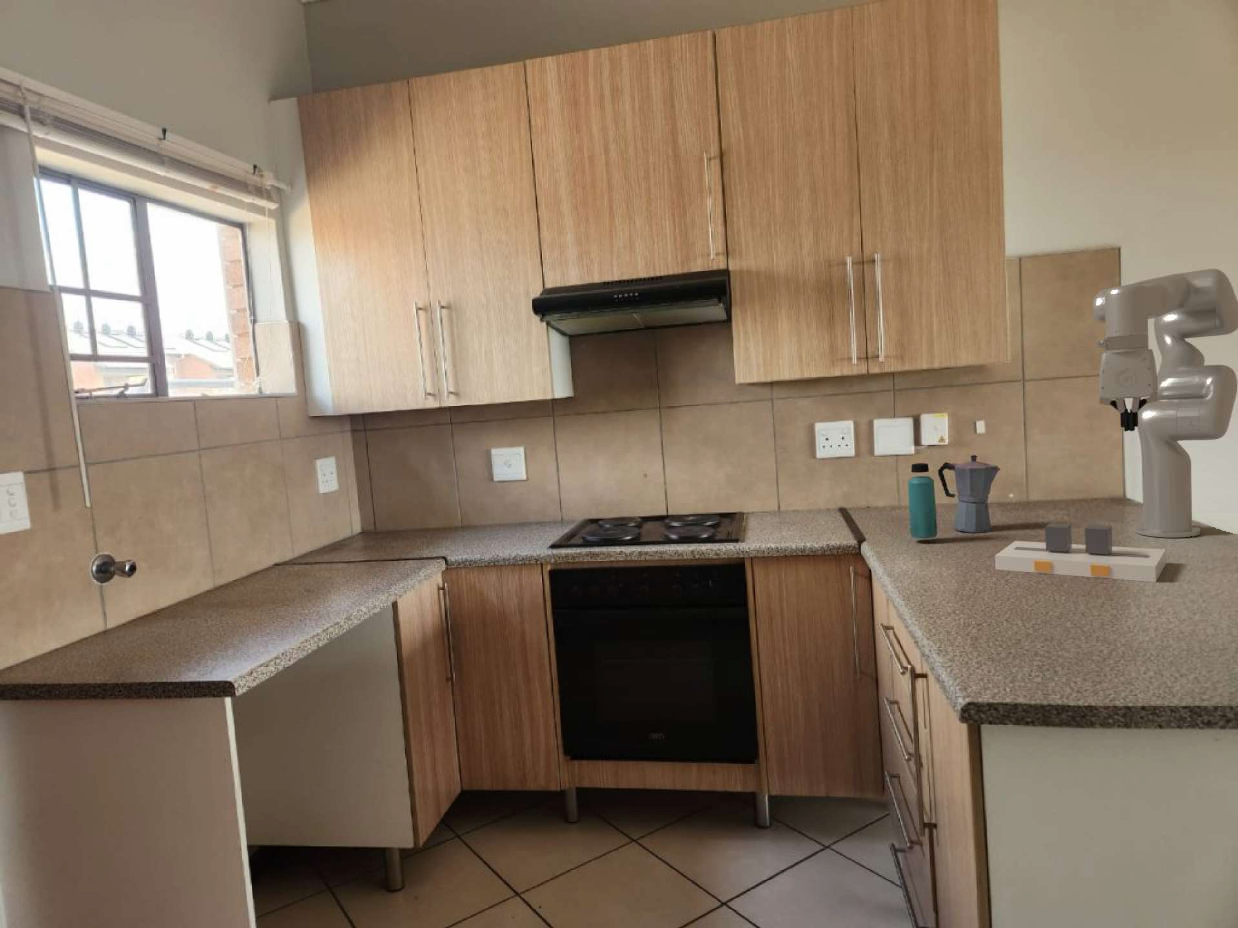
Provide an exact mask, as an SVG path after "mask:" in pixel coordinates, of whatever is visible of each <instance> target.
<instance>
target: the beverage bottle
mask: <svg viewBox="0 0 1238 928" xmlns="http://www.w3.org/2000/svg"><path fill="white" fill-rule="evenodd" d="M910 472H911V473H913V474H915V473H917V474H919V473H929V472H930V468H929V463H925V462H919V463H912V464H911V471H910ZM907 489H908V515H909V533H910V536H911V537H912V538H915V539H933V538H937V536H938V531H939V530H938V523H937V513H938V512H937V505H936V495H935V493H936V492H935V480H934V479H933V478H932V477H931V476H929V475H916V476H912V477H910V478H909V480H907Z"/></svg>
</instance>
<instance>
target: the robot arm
mask: <svg viewBox="0 0 1238 928" xmlns="http://www.w3.org/2000/svg"><path fill="white" fill-rule="evenodd" d="M1091 305H1092V306H1091V308H1092V309H1091V310H1092V314H1093V316H1094V318H1095V319H1096V320H1097V321H1098V322H1099V323H1101V324H1105V339H1104V340H1102V341H1098V343H1097V347H1098V348H1099V349H1100V348H1101V349H1105V352H1103V353H1101V356H1100V362H1099V363H1100V364H1099V376H1098V377H1099V381H1098V383H1099V384H1098V390H1099V392H1098V393H1099V396H1100V397H1099V399H1098V400H1099V401H1098V403H1099V404H1100V405H1103V406H1104V405H1105V406H1111V407H1112V408H1114V409H1115V410H1116V411H1117V412H1119V416H1120V421H1119V422H1120V428H1123V432H1129V431H1130V432H1134V431H1135V430H1136V428H1137V432H1138V436H1139V442H1140V451H1141V452H1140V453H1141V473H1142V475H1141V476H1142V477H1141V480H1142V481H1141V483H1142V484H1141V485H1142V524H1139V525H1138V526H1136V527H1135V533H1137V534H1138V535H1143V536H1146V537H1155V538H1170V539H1171V538H1173V539H1174V538H1191V536H1192V537H1195V536H1196V537H1197V536H1200V534H1201V528H1200V527H1198V526H1194V525H1193V511H1192V510H1193V504H1192V503H1193V502H1192V499H1193V498H1192V497H1193V496H1192V490H1193V489H1192V458H1191V457H1190V454H1189V453H1188V452H1187V451H1186V449H1185V448H1184V447H1183V446H1182V445H1181V443H1180V442H1179V441H1181V442H1182V441H1214V440H1218V439H1221V438H1222V437H1224V436H1225V435H1226V433H1227V431H1228V429H1229V426H1230V422H1231V417H1232V413H1233V410H1234V405H1235V402H1236V398H1237V393H1238V378H1237V375H1236V372H1235V370H1234V369H1233V368H1231V367H1230V366H1228V365H1225V364H1207V365H1206V364H1205V361H1206V360H1205V355H1204V354H1203V352H1201V350H1200V349H1198V348H1197V346H1195V345H1194V344H1192V343H1191V342H1189V341H1187V340H1186V339H1195V338H1205V337H1216V336H1218V337H1219V336H1226V335H1230V334H1232V333H1233V334H1234V332H1237V330H1238V299H1237V296H1236V293H1235V291H1234V288H1233V286H1232V283H1231V281H1230V279H1229V278H1228V276H1227V275H1226V273H1225V272H1223V271H1222V270H1221V269H1218V268H1207V269H1202V270H1194V271H1187V272H1181V273H1173V274H1169V275H1164V276H1160V277H1156V278H1155V277H1154V278H1149V279H1145V280H1141V281H1137V282H1133V283H1130V284H1129V283H1128V284H1125V285H1120V286H1119V285H1118V286H1113V287H1110V288H1109V287H1108V288H1105V289H1101V290H1099V291H1098V292H1097V293H1096V294H1095V296H1094V298H1093V300H1092V303H1091ZM1150 319H1154V320H1153V329H1154V335H1155V339H1156V344H1157V347H1158V349H1159V353H1160V355H1161V362H1160V365H1159V369H1158V371H1157V366H1156V365H1157V363H1156V359H1155V355H1154V352H1153V349H1152V348H1150V349H1149V323H1148V321H1149V320H1150ZM1125 399H1132V401H1131V408H1130V409H1129V408H1127V404H1126V400H1125Z"/></svg>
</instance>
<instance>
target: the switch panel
mask: <svg viewBox="0 0 1238 928" xmlns="http://www.w3.org/2000/svg"><path fill="white" fill-rule="evenodd" d="M1166 554H1167V550H1166V549H1164V548H1146V547H1143V548H1142V547H1128V546H1126V547H1125V546H1113V545H1112V551H1111V552H1110V553H1109V554H1099V553H1086V544H1074V543H1072V548H1071V549H1070V550H1069V551H1068V552H1067V551H1050V550H1046V542H1041V541H1025V540H1024V541H1022V540H1015V541H1013V542H1012V543H1010V544H1009V545H1007V546H1006V547H1005V548H1003V549H1002V550H1001V551H999V552H998V553H996V554H995V555H994V560H995V561H994V565H995V566H994V567H995V569H994V570H996V571H998V570H1000V571H1007V572H1008V571H1011V572H1022V573H1035V574H1046V575H1047V574H1048V575H1049V574H1050V575H1059V576H1060V575H1061V576H1074V577H1083V578H1085V577H1086V578H1098V579H1108V580H1109V579H1110V580H1111V579H1112V580H1125V581H1135V582H1136V581H1137V582H1148V583H1156V582H1157V581H1158V579H1159V577H1160V576H1161V574H1162V572H1163V570H1164V568H1165V566H1166V565H1167V555H1166Z"/></svg>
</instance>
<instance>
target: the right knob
mask: <svg viewBox="0 0 1238 928" xmlns="http://www.w3.org/2000/svg"><path fill="white" fill-rule="evenodd" d="M1112 527H1113V526H1112V525H1099V524H1098V525H1095V524H1088V525H1087V526H1086V527H1085V528H1084V536H1085V538H1084V540H1085V541H1084V542H1085V544H1084V545H1086V553H1099V554H1109V553H1110V552H1111V551H1112V546H1113V536H1112V535H1113V530H1112V529H1113V528H1112Z"/></svg>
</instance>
